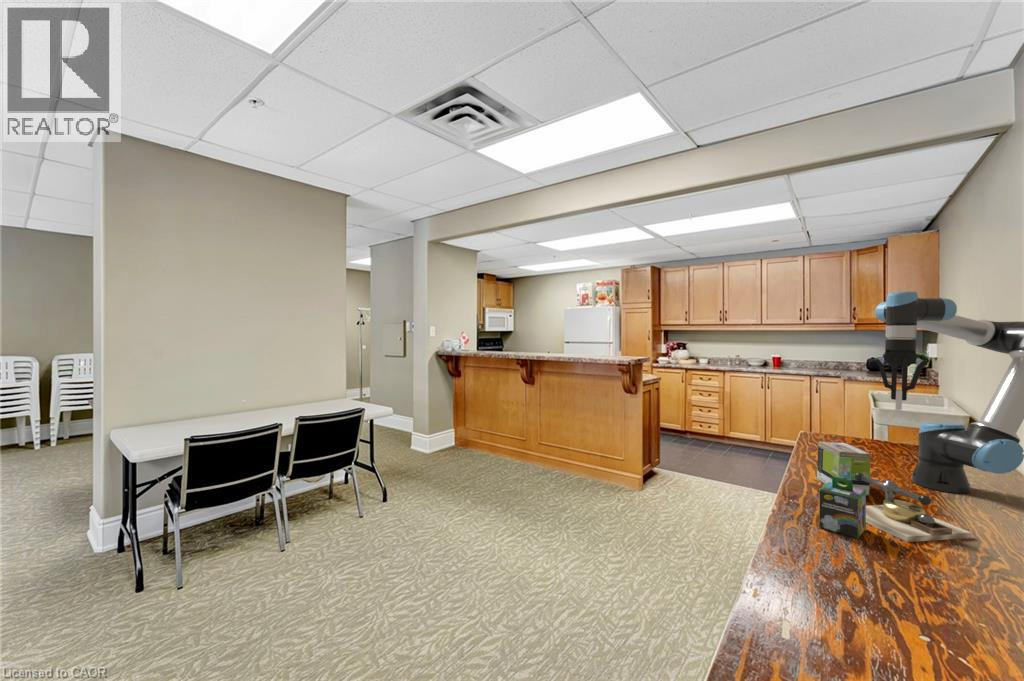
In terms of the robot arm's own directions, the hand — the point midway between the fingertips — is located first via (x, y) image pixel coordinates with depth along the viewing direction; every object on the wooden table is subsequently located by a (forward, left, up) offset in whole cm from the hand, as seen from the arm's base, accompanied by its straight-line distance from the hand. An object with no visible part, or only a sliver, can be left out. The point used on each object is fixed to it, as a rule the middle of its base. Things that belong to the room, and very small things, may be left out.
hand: (898, 409), depth 141 cm
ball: (+15, +21, -29) cm, 39 cm away
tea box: (+7, -13, -31) cm, 34 cm away
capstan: (+15, +11, -29) cm, 34 cm away
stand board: (+16, +16, -30) cm, 38 cm away
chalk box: (+36, +16, -31) cm, 50 cm away
